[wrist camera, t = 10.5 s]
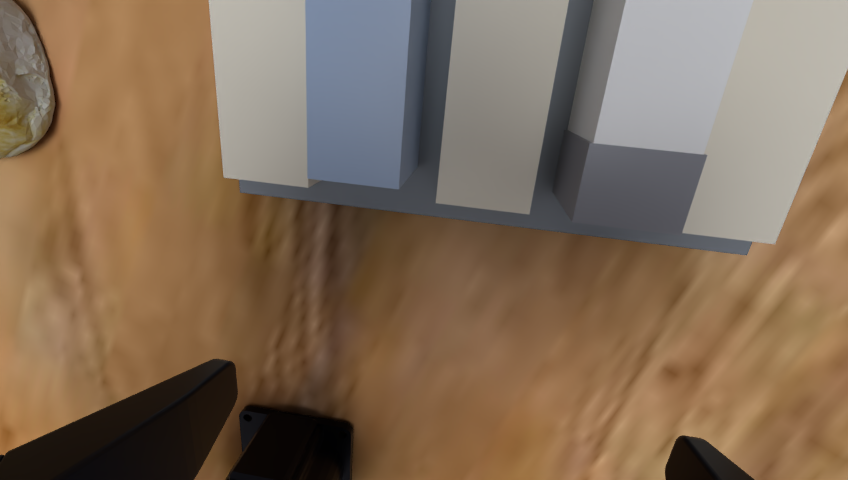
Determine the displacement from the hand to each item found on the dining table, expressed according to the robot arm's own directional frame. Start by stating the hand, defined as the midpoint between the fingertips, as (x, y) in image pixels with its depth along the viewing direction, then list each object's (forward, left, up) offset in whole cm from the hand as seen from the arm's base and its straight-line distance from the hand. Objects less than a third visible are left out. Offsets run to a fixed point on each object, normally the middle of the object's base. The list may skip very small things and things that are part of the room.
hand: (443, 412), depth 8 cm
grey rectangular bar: (+8, +4, -10) cm, 13 cm away
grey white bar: (+8, -5, -10) cm, 14 cm away
